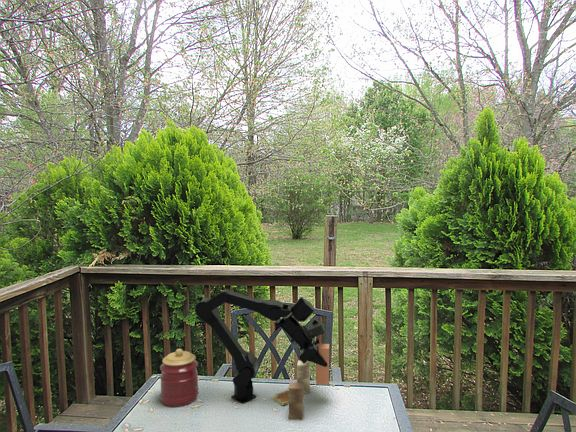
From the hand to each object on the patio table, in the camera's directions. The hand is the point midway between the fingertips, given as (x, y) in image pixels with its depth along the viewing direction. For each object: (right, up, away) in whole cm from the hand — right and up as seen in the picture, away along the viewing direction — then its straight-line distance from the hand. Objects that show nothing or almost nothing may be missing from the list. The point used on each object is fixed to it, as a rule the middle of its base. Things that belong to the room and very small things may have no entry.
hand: (326, 363), depth 135 cm
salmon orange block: (-1, -7, 0) cm, 7 cm away
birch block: (-8, -13, +9) cm, 18 cm away
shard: (-15, -14, +3) cm, 21 cm away
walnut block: (-11, -14, -9) cm, 20 cm away
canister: (-52, -14, +4) cm, 54 cm away
